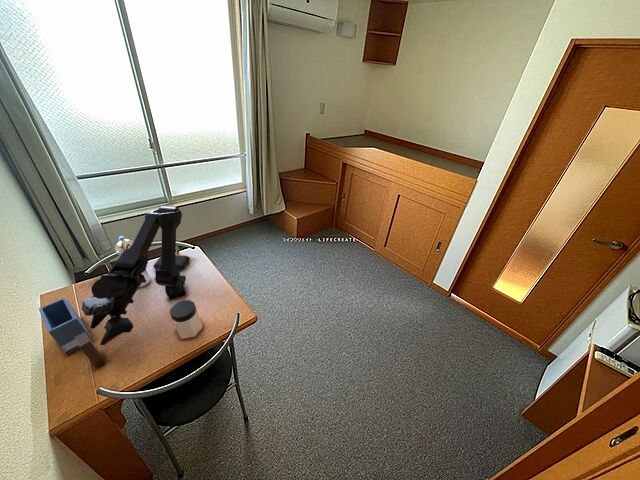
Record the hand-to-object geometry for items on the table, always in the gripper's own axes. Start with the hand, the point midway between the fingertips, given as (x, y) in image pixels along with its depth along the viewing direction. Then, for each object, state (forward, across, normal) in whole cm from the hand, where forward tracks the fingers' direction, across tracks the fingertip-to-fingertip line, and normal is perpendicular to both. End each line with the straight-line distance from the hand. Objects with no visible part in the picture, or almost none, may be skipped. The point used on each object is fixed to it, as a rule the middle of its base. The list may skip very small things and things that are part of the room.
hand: (97, 336), depth 81 cm
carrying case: (-18, -31, +32) cm, 48 cm away
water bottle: (-8, -28, +22) cm, 37 cm away
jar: (-9, +10, +23) cm, 27 cm away
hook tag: (+11, 0, +4) cm, 11 cm away
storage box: (+11, -17, +3) cm, 21 cm away
